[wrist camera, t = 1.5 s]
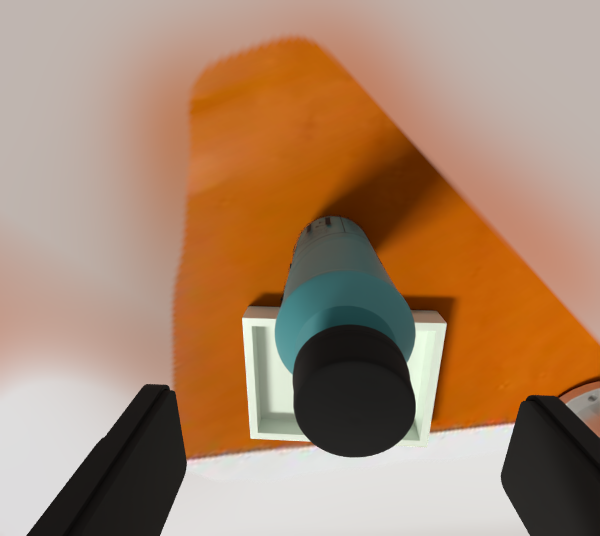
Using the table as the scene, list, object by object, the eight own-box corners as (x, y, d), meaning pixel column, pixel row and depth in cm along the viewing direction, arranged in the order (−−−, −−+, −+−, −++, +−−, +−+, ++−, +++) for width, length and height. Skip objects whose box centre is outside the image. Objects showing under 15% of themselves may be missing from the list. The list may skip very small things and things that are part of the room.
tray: (436, 310, 30) (446, 323, 27) (419, 427, 34) (426, 447, 32) (248, 306, 31) (242, 318, 29) (255, 419, 35) (250, 438, 33)
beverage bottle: (331, 194, 27) (355, 271, 8) (384, 247, 28) (512, 421, 9) (280, 247, 29) (203, 411, 10) (332, 295, 30) (351, 522, 11)
